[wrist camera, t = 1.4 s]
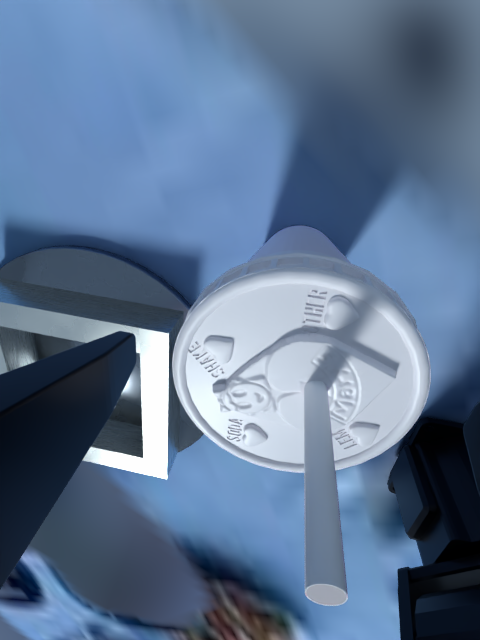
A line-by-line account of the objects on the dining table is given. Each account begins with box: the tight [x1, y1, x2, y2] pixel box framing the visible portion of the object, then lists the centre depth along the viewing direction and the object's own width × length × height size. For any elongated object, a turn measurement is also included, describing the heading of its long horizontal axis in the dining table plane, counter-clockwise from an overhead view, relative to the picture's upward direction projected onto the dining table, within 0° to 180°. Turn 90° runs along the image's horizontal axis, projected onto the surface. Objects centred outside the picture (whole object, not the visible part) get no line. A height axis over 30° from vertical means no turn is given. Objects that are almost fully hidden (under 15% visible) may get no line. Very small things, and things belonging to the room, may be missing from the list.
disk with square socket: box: [0, 246, 204, 479], centre depth 21 cm, size 16×16×3 cm
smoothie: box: [172, 225, 431, 606], centre depth 11 cm, size 6×6×14 cm
